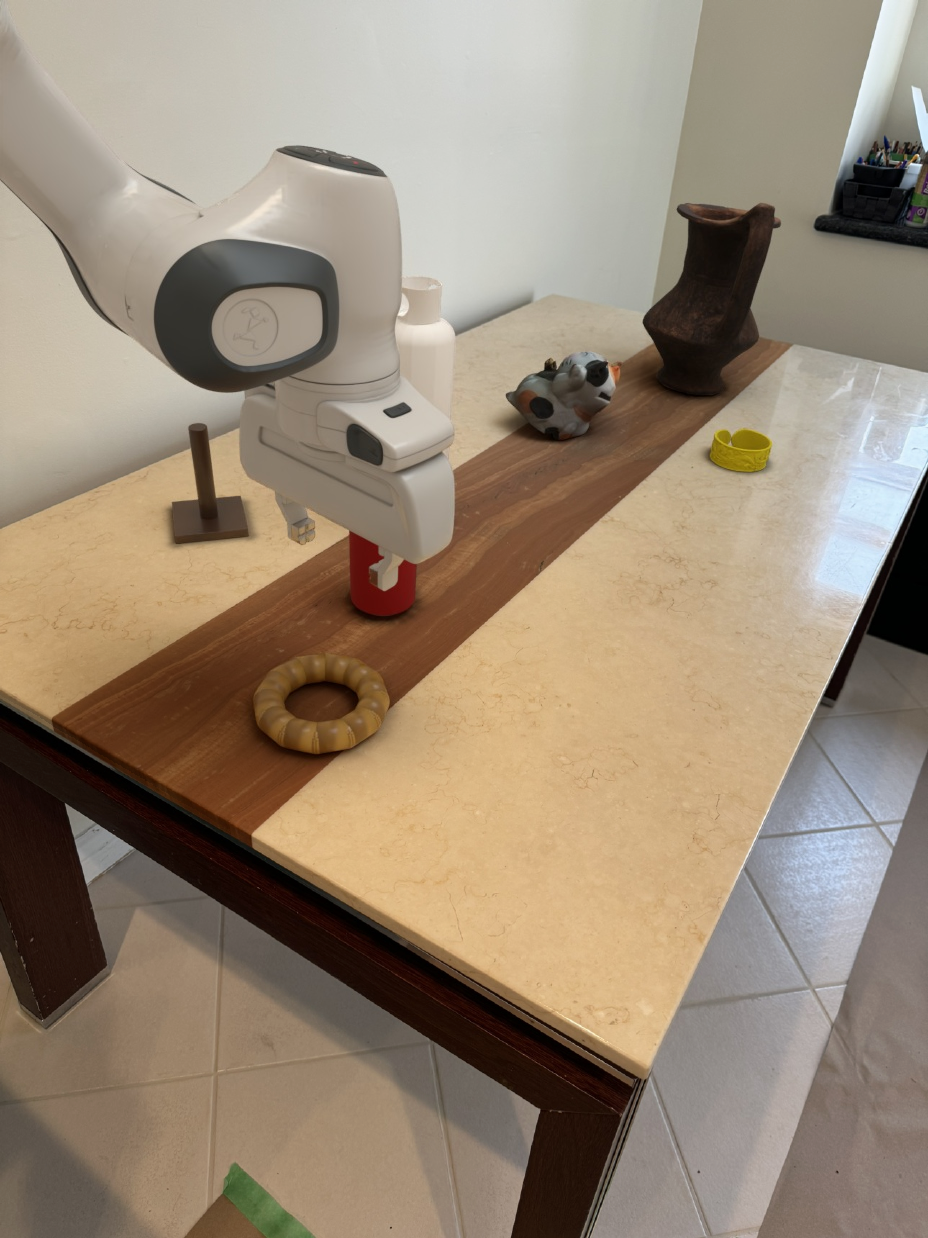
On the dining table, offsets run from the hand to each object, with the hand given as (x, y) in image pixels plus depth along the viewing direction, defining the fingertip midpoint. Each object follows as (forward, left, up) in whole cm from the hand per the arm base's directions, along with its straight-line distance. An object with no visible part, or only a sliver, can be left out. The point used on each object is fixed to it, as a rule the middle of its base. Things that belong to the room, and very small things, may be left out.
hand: (341, 561), depth 71 cm
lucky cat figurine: (+43, +52, -14) cm, 69 cm away
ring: (-2, -2, -13) cm, 13 cm away
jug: (+71, +62, -14) cm, 95 cm away
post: (-9, +33, -14) cm, 37 cm away
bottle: (+14, +28, -14) cm, 34 cm away
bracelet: (+64, +36, -14) cm, 74 cm away
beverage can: (+7, +13, -14) cm, 20 cm away
